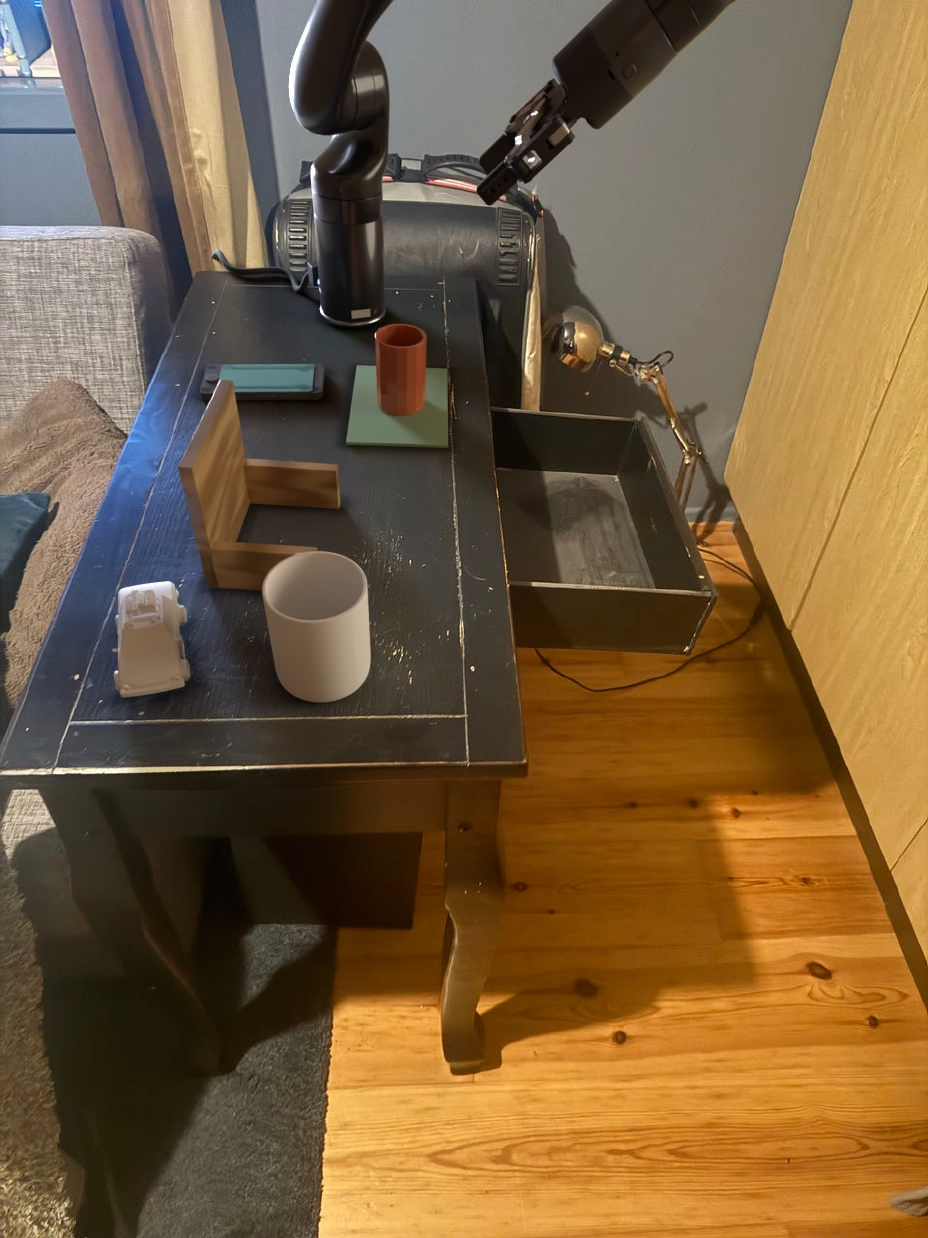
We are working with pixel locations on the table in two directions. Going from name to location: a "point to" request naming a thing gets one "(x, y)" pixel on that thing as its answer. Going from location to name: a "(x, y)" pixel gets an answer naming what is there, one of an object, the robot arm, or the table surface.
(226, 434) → the cubby
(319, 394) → the smartphone
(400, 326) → the cup
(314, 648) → the mug
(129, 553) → the table surface
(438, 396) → the mat
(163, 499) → the table surface
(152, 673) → the toy car
